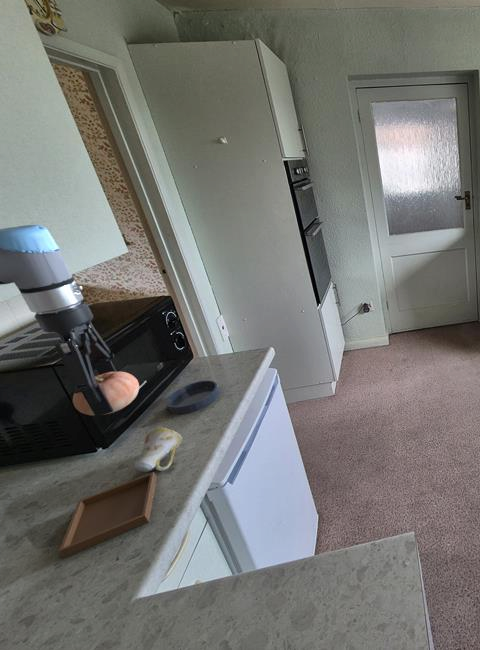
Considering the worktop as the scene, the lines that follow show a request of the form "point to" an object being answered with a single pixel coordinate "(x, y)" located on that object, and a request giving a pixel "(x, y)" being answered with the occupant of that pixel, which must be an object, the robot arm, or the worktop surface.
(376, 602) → the worktop surface
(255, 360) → the worktop surface
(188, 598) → the worktop surface
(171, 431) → the mug
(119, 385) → the pumpkin
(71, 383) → the robot arm
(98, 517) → the tray
